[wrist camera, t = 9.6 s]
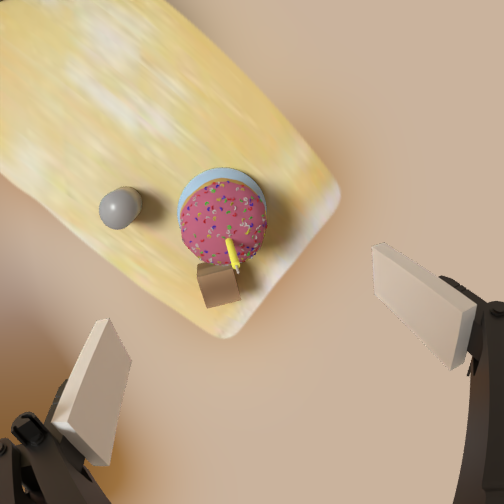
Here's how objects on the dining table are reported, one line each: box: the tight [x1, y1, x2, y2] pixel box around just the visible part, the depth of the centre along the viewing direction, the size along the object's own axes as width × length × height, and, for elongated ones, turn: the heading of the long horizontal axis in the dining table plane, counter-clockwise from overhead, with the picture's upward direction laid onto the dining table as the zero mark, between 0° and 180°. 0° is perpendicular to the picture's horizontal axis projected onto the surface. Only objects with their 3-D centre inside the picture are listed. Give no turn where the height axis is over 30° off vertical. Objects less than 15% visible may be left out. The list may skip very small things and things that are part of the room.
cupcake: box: [180, 178, 267, 274], centre depth 28 cm, size 9×8×12 cm
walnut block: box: [197, 262, 241, 308], centre depth 36 cm, size 4×4×4 cm
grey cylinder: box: [99, 186, 142, 230], centre depth 31 cm, size 4×4×4 cm
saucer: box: [177, 167, 267, 226], centre depth 34 cm, size 10×10×1 cm
